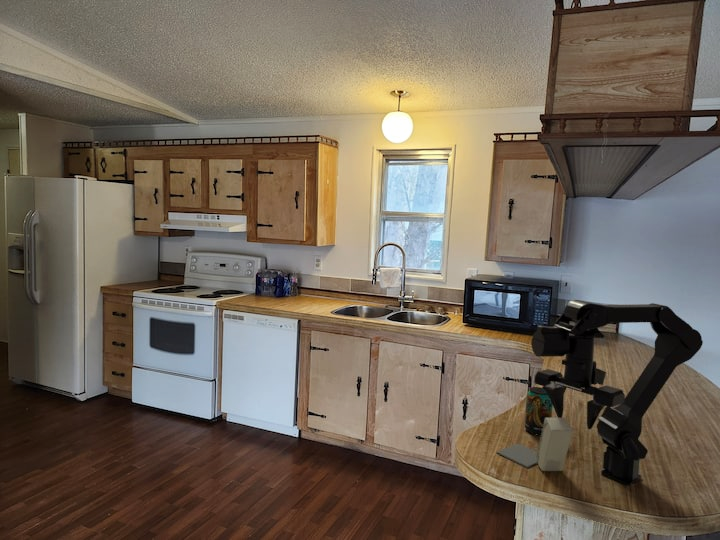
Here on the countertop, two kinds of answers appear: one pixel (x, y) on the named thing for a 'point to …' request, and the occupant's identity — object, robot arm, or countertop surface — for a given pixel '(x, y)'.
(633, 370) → the countertop surface
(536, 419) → the beverage can
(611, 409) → the robot arm
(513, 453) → the mat
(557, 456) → the box
